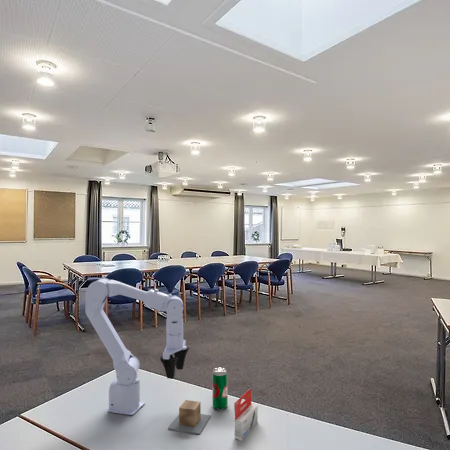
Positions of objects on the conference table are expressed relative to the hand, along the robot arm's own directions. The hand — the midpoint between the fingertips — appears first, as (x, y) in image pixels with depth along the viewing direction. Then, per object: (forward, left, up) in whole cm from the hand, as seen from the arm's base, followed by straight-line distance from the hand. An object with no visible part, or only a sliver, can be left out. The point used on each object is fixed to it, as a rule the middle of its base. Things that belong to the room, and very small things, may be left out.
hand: (175, 373), depth 114 cm
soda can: (+15, +3, -11) cm, 18 cm away
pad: (+9, -9, -10) cm, 16 cm away
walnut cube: (+9, -9, -10) cm, 16 cm away
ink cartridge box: (+26, -8, -11) cm, 30 cm away
